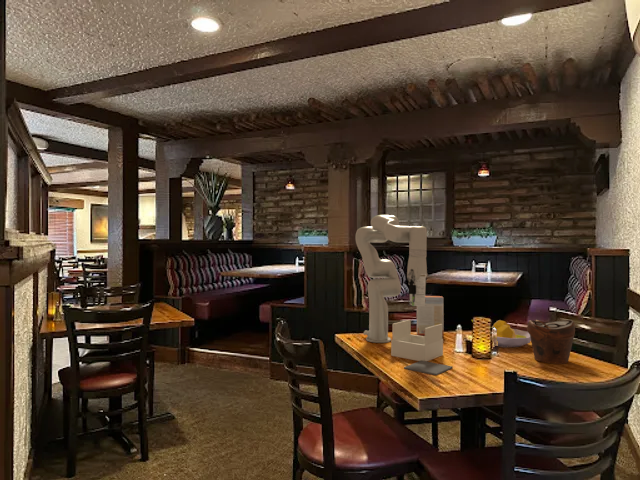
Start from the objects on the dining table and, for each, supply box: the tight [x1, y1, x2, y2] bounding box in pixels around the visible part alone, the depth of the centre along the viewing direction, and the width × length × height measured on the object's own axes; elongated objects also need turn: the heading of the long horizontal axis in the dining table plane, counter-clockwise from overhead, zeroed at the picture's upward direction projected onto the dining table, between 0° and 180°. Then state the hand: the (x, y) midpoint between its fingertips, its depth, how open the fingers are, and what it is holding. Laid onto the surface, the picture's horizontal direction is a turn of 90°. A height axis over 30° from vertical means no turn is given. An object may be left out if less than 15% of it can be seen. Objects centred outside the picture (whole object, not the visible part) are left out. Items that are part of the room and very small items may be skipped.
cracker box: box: [416, 295, 445, 336], centre depth 256 cm, size 14×6×21 cm, turn 84°
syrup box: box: [409, 273, 427, 307], centre depth 209 cm, size 6×6×14 cm
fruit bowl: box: [470, 319, 531, 348], centre depth 233 cm, size 28×27×11 cm
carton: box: [390, 319, 444, 362], centre depth 209 cm, size 17×17×14 cm
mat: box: [403, 361, 454, 376], centre depth 188 cm, size 14×14×1 cm
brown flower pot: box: [526, 319, 576, 365], centre depth 202 cm, size 18×20×18 cm
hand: (417, 293), depth 209 cm, fingers closed on syrup box, 8 cm apart
